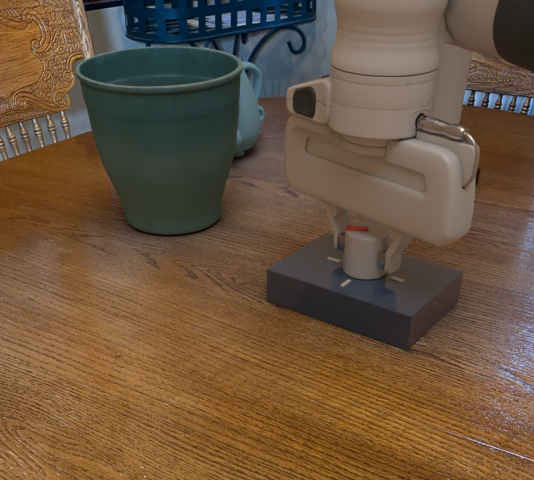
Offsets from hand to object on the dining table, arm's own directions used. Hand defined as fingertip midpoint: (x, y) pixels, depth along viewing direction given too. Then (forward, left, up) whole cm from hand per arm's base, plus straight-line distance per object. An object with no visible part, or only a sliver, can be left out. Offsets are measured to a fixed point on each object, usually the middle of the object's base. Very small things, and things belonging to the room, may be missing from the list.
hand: (365, 259), depth 68 cm
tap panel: (0, 0, -5) cm, 5 cm away
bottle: (+17, -54, -5) cm, 57 cm away
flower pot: (+30, -5, -5) cm, 31 cm away
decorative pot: (+43, -27, -5) cm, 51 cm away
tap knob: (0, 0, -1) cm, 1 cm away
